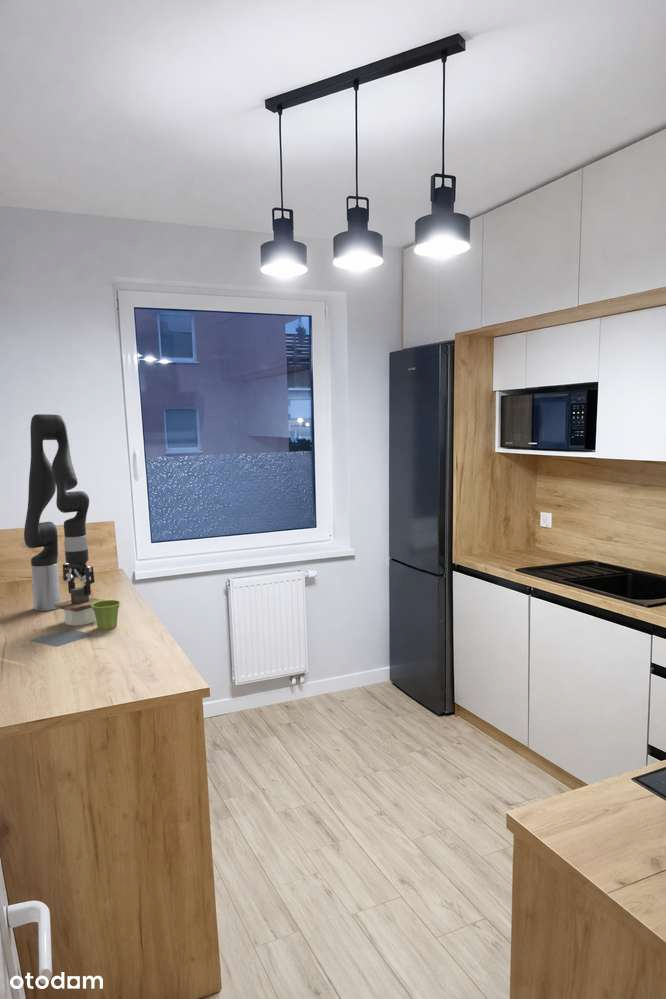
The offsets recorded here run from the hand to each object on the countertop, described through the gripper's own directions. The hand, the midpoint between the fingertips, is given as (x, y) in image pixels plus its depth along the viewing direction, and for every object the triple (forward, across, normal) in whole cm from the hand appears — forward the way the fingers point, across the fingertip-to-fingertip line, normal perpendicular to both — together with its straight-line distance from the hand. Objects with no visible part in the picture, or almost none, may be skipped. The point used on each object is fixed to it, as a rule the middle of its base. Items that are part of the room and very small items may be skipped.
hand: (79, 594), depth 229 cm
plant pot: (+10, -15, +1) cm, 18 cm away
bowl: (+10, 0, 0) cm, 10 cm away
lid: (+4, 0, 0) cm, 4 cm away
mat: (+10, -11, +15) cm, 21 cm away
